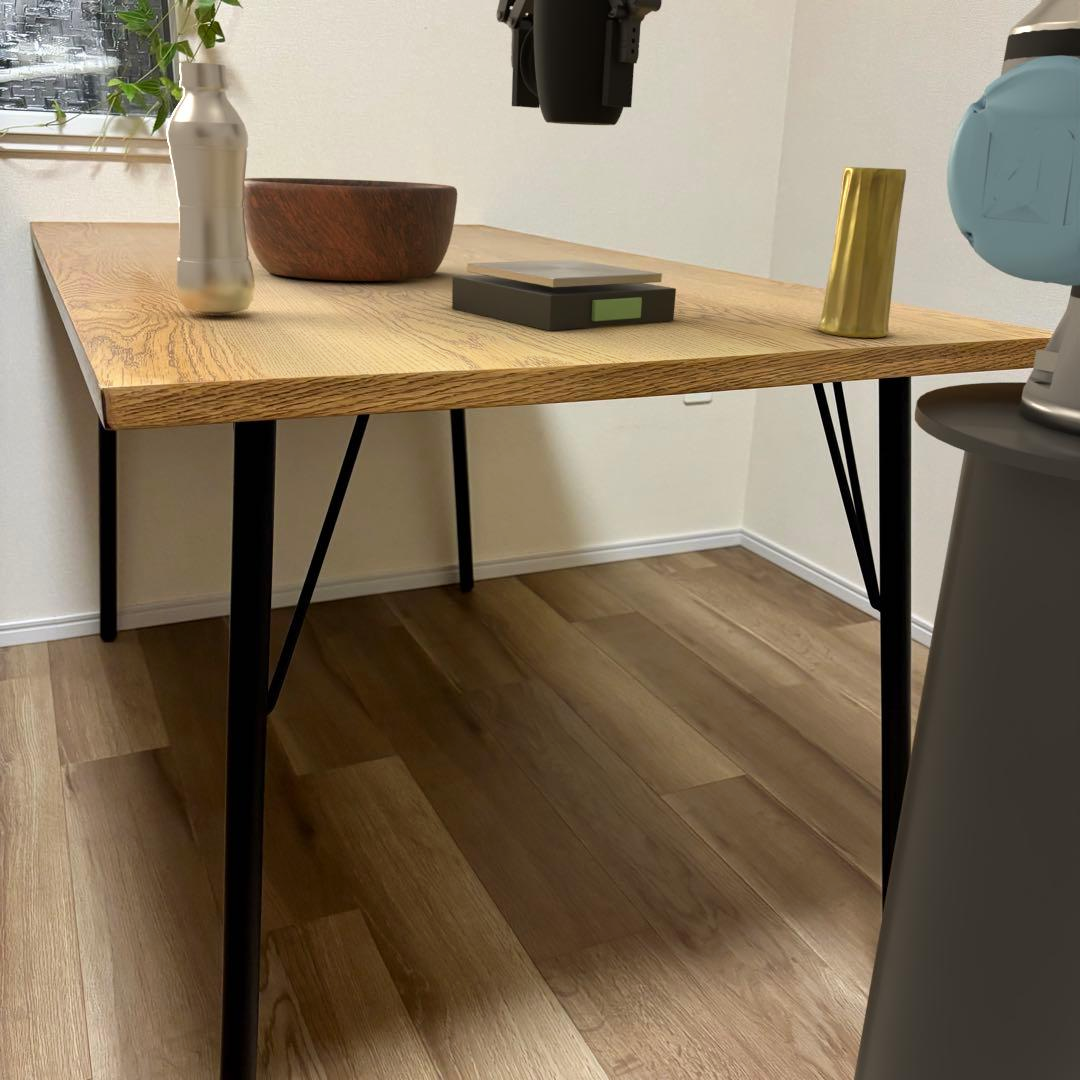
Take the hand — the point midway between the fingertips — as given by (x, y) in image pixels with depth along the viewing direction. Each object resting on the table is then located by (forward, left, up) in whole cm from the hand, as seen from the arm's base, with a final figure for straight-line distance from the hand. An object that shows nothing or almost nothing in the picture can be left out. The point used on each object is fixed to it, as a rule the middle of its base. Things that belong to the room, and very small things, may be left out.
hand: (568, 107), depth 97 cm
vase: (-20, -18, -19) cm, 33 cm away
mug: (0, 0, -2) cm, 2 cm away
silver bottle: (+12, +29, -19) cm, 36 cm away
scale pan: (0, 0, -15) cm, 15 cm away
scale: (0, 0, -18) cm, 18 cm away
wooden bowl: (+37, +2, -19) cm, 41 cm away
